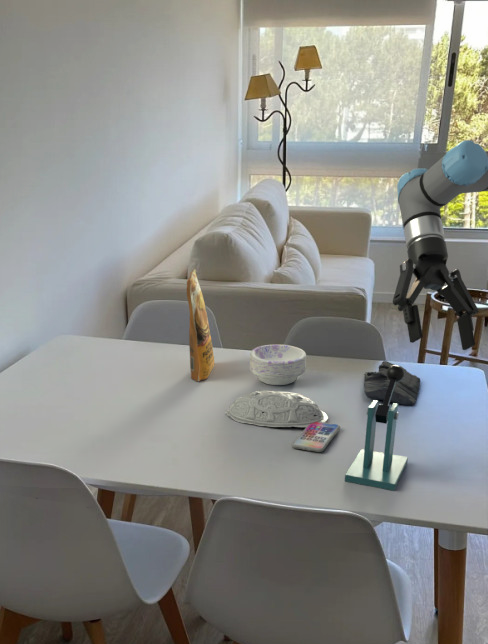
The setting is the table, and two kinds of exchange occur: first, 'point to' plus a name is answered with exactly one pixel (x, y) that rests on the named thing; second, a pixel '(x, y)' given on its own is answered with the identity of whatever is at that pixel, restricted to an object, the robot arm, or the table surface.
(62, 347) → the table surface
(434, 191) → the robot arm
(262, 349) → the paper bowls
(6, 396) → the table surface
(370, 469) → the bracket
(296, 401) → the carved stone relief
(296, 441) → the smartphone
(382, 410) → the lever
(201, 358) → the pancake mix bag
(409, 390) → the dark slate chunk
